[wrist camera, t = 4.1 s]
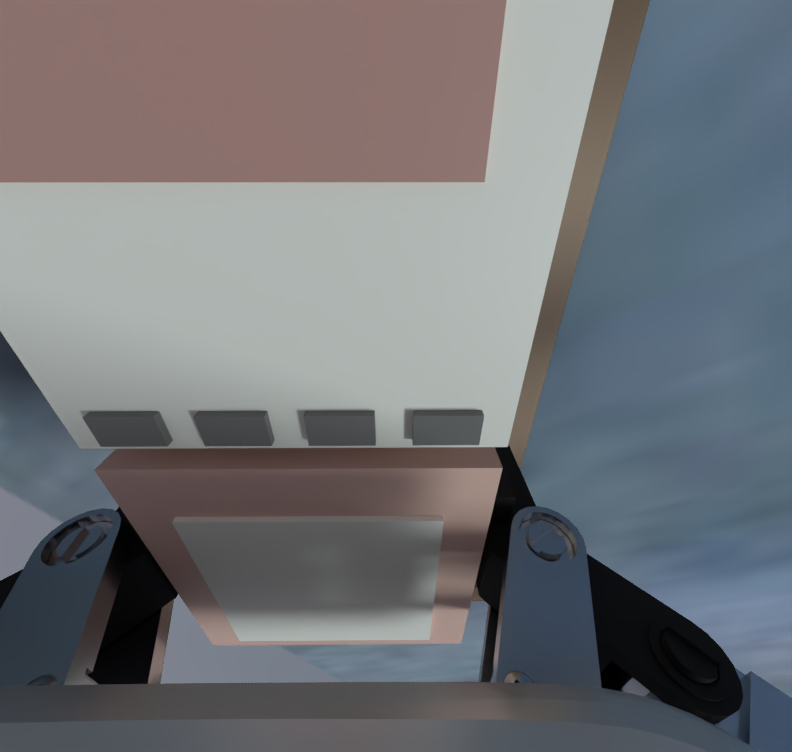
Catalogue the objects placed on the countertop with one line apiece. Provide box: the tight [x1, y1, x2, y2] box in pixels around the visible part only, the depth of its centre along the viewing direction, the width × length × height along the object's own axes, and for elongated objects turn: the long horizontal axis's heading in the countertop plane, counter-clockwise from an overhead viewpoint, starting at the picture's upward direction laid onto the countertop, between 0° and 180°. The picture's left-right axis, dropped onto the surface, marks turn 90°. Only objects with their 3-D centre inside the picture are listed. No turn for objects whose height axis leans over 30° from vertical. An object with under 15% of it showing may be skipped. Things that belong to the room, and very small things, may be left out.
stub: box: [95, 447, 503, 645], centre depth 8 cm, size 6×6×5 cm
